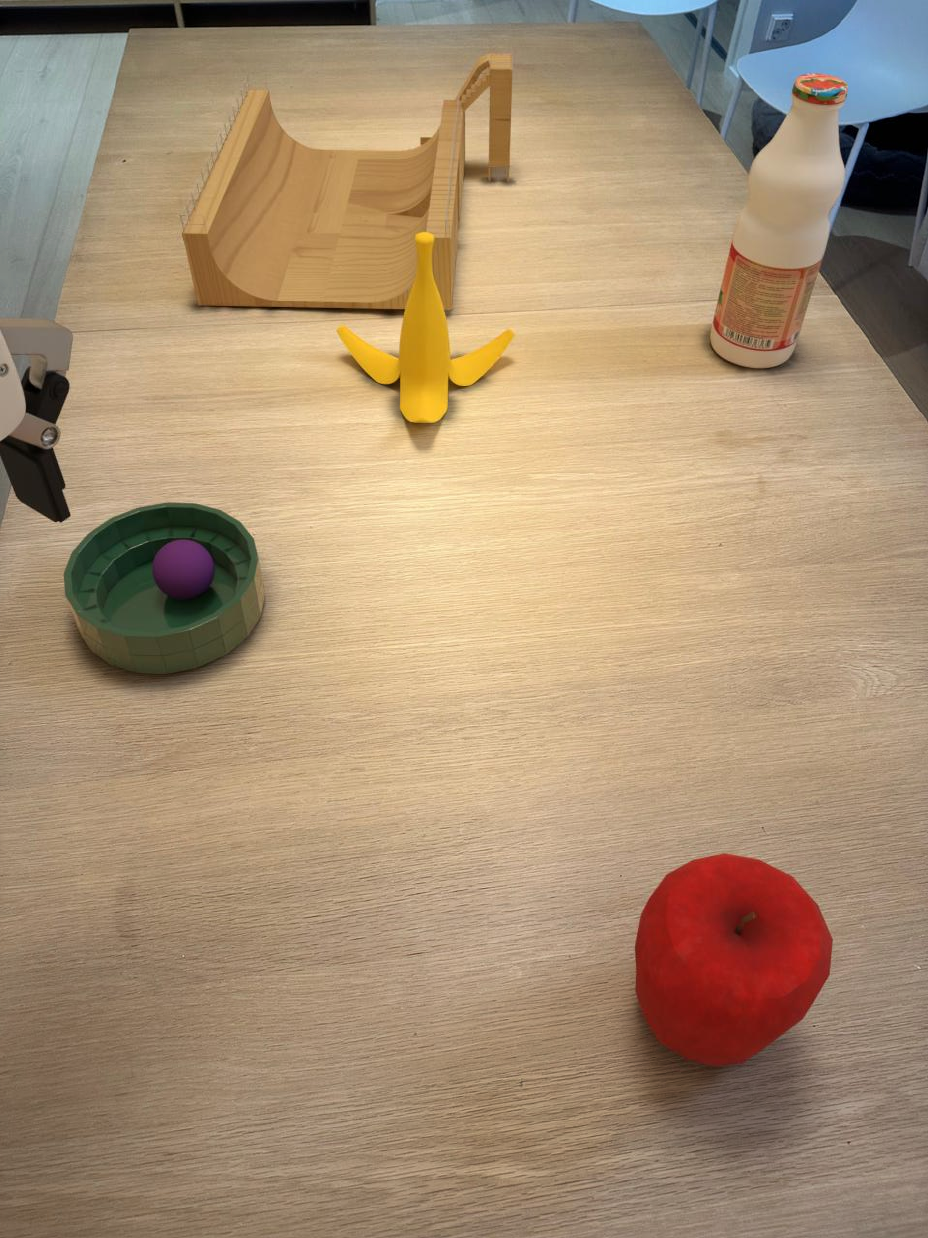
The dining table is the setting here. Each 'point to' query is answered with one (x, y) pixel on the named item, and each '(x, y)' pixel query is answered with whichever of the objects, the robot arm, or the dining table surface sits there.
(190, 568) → the ball
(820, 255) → the milk bottle
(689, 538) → the dining table surface
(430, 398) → the banana peel
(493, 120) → the skate ramp
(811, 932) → the apple
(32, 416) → the robot arm
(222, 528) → the bowl
